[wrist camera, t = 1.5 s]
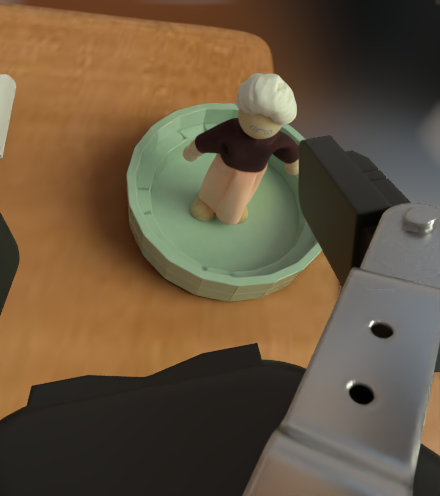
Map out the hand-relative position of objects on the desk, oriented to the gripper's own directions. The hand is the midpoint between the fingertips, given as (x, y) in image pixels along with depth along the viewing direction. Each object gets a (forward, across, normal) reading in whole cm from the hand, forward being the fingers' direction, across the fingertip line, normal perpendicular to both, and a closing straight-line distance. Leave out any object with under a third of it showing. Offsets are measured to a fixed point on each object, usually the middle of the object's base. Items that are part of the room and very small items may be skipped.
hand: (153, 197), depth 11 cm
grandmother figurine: (+17, -3, +12) cm, 21 cm away
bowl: (+17, -3, +12) cm, 21 cm away
